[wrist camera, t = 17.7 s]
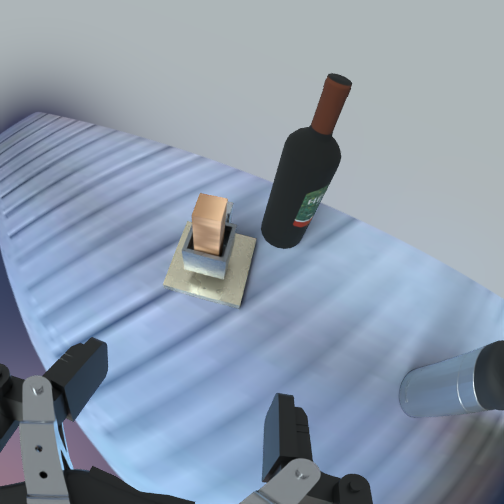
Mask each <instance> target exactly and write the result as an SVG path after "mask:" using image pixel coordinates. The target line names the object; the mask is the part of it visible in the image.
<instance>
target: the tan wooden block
mask: <svg viewBox="0 0 504 504" xmlns="http://www.w3.org/2000/svg"><path fill="white" fill-rule="evenodd" d="M227 201H228V199H226V198H222V197H217V196H212V195H207V194H202V193H200V194H199V197H198V200H197V202H196V205H195V208H194V211H193V213H192V227H193V240H194V250H195V251H199V252H203V253H206V254H210V255H214V256H218V257H221V255H222V251H223V241H224V231H225V221H226V211H227Z"/></svg>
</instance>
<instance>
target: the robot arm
mask: <svg viewBox="0 0 504 504" xmlns="http://www.w3.org/2000/svg"><path fill="white" fill-rule="evenodd" d="M107 371H108V354H107V344H106V343H105V342H103V341H100V340H98V339H96V338H93V337H91V338H90V339H89V340H88V341H87V342H86V343H85V344H82V343H79V344H76V345H74V346H72V347H71V348H69V349H68V350H67V351H66V352H65V354H63V355H62V356H61V357H60V359H58V360H57V361H56V362H55V363H54V364H53V365H52V366H51V368H50V369H49V370H48V371H47V372H46V373H45V374H44V375H43V376H31V377H29V378H27V379H26V380H24V379H20V378H17V377H14V376H11V375H10V372H9V369H8V368H7V367H6V366H5V365H3V364H0V452H1V451H2V449H3V448H4V446H5V445H6V443H7V442H8V440H9V439H10V438H11V436H12V435H13V433H14V432H15V430H16V429H17V427H18V426H19V429H20V430H19V431H20V445H21V455H22V462H23V470H24V477H25V481H24V482H19V483H15V484H10V485H5V486H0V504H195V502H193V501H189V500H185V499H181V498H177V497H174V496H170V495H163V494H154V493H146V492H140V491H138V490H136V489H135V488H133V487H131V486H130V485H128V484H127V483H125V482H124V481H122V480H121V479H119V478H118V477H116V476H114V475H112V474H109V473H107V472H105V471H103V470H100V469H98V468H96V467H94V466H92V468H91V470H90V471H88V470H82V469H73V466H72V463H71V460H70V458H69V453H68V448H67V443H66V438H65V433H64V428H63V423H62V422H63V421H64V420H65V418H67V419H69V420H71V421H72V422H74V420H75V419H76V418H77V416H78V415H79V413H80V412H81V410H82V409H83V408H84V406H85V405H86V403H87V402H88V401H89V399H90V398H91V396H92V395H93V394H94V392H95V391H96V390H97V388H98V387H99V385H100V384H101V383H102V381H103V380H104V379H105V377H106V374H107ZM399 399H400V404H401V407H402V409H403V411H404V412H405V413H406V414H407V415H408V416H410V417H414V418H418V417H438V416H450V415H460V414H468V413H475V412H482V411H488V410H494V409H497V410H504V341H503V340H502V341H496V342H494V343H491V344H489V345H486V346H484V347H481V348H479V349H476V350H473V351H471V352H468V353H465V354H462V355H460V356H457V357H454V358H451V359H448V360H444V361H441V362H438V363H435V364H431V365H428V366H424V367H420V368H417V369H414V370H412V371H411V372H409V373H408V374H407V375H406V377H405V378H404V380H403V382H402V384H401V387H400V393H399ZM262 482H267V484H265V485H264V486H263V487H262V488H261V489H259V490H258V491H255V492H253V493H252V494H251V495H249V496H248V497H247V498H246V499H244V500H243V501H242V502H240V503H239V504H373V502H372V496H371V490H370V485H369V483H368V481H367V480H366V479H365V478H364V477H362V476H360V475H357V474H348V475H345V476H344V477H342V478H338V477H334V476H331V475H328V474H325V473H323V472H321V471H320V469H319V467H318V466H317V465H316V464H315V463H314V462H313V459H312V450H311V442H310V434H309V427H308V418H307V415H306V413H305V412H304V410H303V409H302V408H300V407H295V406H294V397H293V395H287V394H281V393H276V395H275V397H274V399H273V401H272V404H271V406H270V408H269V410H268V413H267V415H266V418H265V423H264V445H263V470H262Z"/></svg>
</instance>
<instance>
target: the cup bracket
mask: <svg viewBox="0 0 504 504" xmlns="http://www.w3.org/2000/svg"><path fill="white" fill-rule="evenodd" d="M232 210H233V203H232V202H228V201H227V211H226V221H225V231H224V241H223V251H222V255H221V257H218V256H214V255H210V254H206V253H203V252H199V251H195V250H194V240H193V227H192V222H189V221H187V224H186V226H185V229H184V231H183V234H182V236H181V239H180V241H179V244H178V246H177V249H176V251H175V254H174V256H173V259H172V262H171V264H170V267H169V270H168V272H167V275H166V278H165V280H164V283H163V286H164V288H165V289H169V290H172V291H176V292H179V293H182V294H186V295H190V296H193V297H197V298H200V299H204V300H208V301H211V302H215V303H219V304H223V305H226V306H230V307H234V308H238V309H239V307H240V303H241V299H242V295H243V291H244V287H245V283H246V279H247V275H248V271H249V267H250V263H251V259H252V255H253V251H254V247H255V243H256V238H252V237H248V236H244V235H241V234H237V233H236V229H237V225H235V224H232V223H231V218H232Z"/></svg>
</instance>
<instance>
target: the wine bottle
mask: <svg viewBox="0 0 504 504" xmlns="http://www.w3.org/2000/svg"><path fill="white" fill-rule="evenodd" d="M351 86H352V82H351V81H350V80H348V79H347V78H346V77H344V76H341V75H338V74H333V73H332V74H328V76H327V79H326V80H325V83H324V86H323V87H324V88H323V92H322V94H321V97H320V100H319V103H318V106H317V109H316V112H315V115H314V118H313V120H312V123H311V125H310V127H306V128H300V129H298V130H297V131H295V132H293V133H292V134H290V135H289V137H288V138H287V140H286V142H285V145H284V148H283V151H282V155H281V158H280V162H279V166H278V169H277V173H276V176H275V179H274V183H273V186H272V190H271V193H270V197H269V200H268V204H267V207H266V211H265V214H264V218H263V221H262V226H261V231H262V235H263V236H264V238H265V240H266V241H267V242H269V243H270V244H271V245H273V246H275V247H277V248H283V249H286V248H291V247H294V246H296V245H297V244H298V243H299V242H300V240H301V239H302V237H303V235H304V233H305V231H306V229H307V227H308V225H309V223H310V221H311V219H312V218H313V216H314V214H315V212H316V210H317V208H318V206H319V204H320V202H321V200H322V198H323V196H324V194H325V192H326V190H327V188H328V186H329V184H330V182H331V180H332V178H333V176H334V174H335V172H336V170H337V168H338V166H339V163H340V160H341V153H340V148H339V146H338V144H337V142H336V140H335V139H334V138H333V137H332V133H333V130H334V127H335V125H336V122H337V120H338V118H339V115H340V113H341V110H342V108H343V105H344V103H345V101H346V98H347V97H348V95H349V92H350V90H351Z"/></svg>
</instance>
